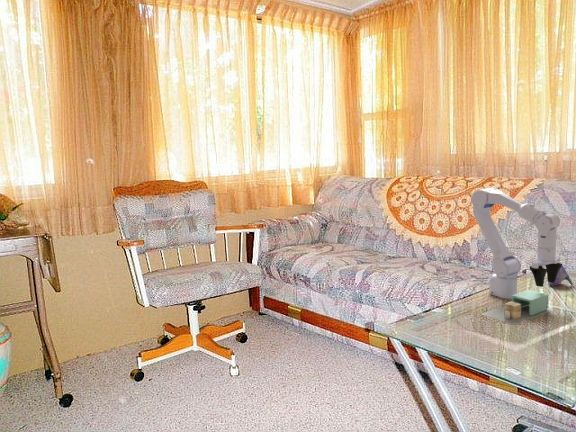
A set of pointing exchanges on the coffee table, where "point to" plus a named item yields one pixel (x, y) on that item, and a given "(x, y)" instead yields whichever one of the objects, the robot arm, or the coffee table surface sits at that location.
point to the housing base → (513, 321)
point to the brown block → (513, 309)
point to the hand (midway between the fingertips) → (545, 284)
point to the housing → (532, 301)
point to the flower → (561, 277)
